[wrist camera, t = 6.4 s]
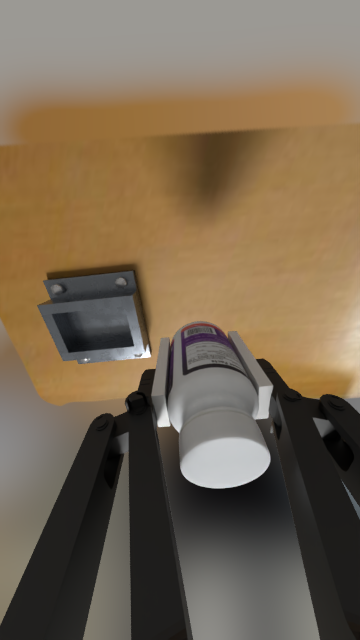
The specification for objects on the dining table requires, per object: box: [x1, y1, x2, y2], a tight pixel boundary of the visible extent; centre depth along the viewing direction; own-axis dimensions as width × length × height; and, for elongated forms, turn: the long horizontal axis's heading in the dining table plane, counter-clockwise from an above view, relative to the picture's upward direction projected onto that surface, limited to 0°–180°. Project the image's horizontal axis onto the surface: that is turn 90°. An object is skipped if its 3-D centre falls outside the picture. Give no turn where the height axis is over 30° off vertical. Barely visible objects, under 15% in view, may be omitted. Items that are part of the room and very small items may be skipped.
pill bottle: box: [167, 321, 270, 488], centre depth 12 cm, size 5×5×10 cm
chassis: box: [37, 270, 151, 364], centre depth 28 cm, size 16×14×4 cm
